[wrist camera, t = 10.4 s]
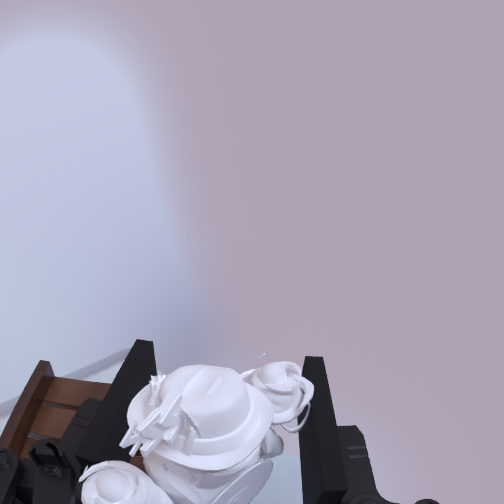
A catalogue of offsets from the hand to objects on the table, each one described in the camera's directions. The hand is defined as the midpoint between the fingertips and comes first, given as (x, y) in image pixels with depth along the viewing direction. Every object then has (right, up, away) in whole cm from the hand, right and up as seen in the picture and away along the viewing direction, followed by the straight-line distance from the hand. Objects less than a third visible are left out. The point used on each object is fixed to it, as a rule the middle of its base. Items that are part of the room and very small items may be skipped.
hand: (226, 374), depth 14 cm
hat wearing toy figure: (-1, -8, -2) cm, 8 cm away
